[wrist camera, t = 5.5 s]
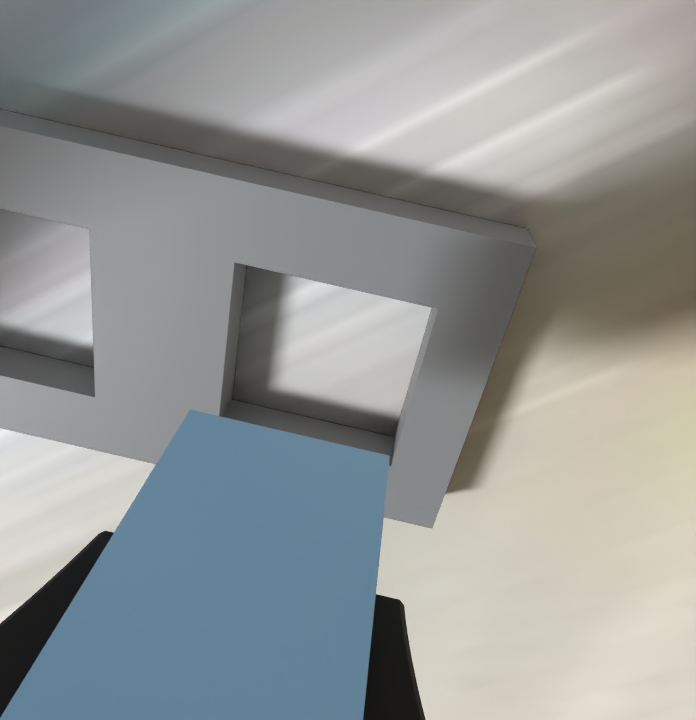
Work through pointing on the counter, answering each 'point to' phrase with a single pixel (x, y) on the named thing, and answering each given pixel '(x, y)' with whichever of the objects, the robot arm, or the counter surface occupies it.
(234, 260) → the holder plate
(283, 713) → the plug
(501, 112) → the counter surface
